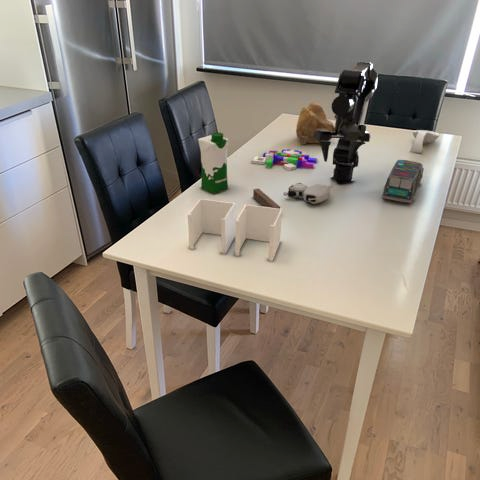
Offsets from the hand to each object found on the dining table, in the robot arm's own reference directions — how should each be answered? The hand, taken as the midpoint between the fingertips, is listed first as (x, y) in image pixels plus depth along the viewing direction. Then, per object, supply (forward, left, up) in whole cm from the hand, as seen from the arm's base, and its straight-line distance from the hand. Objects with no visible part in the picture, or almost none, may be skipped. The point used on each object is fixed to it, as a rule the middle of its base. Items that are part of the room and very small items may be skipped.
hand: (337, 161), depth 165 cm
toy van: (-24, +8, -12) cm, 28 cm away
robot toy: (+11, 0, -12) cm, 16 cm away
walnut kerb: (+27, 0, -12) cm, 30 cm away
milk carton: (+38, -21, -12) cm, 45 cm away
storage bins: (+48, +20, -12) cm, 53 cm away
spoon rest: (-66, -29, -12) cm, 73 cm away
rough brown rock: (-24, -52, -12) cm, 59 cm away
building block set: (0, -36, -12) cm, 38 cm away
